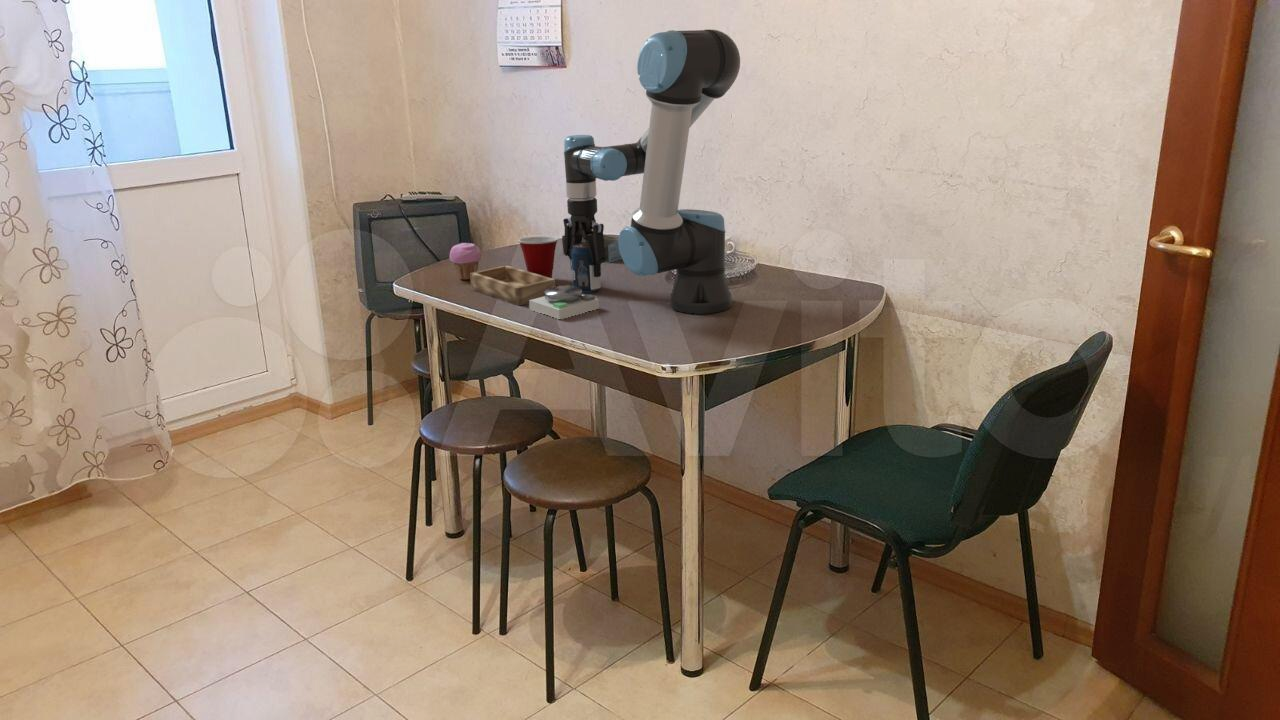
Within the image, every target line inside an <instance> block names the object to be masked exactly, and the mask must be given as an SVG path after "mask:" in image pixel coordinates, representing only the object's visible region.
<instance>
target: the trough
mask: <svg viewBox="0 0 1280 720" xmlns="http://www.w3.org/2000/svg"><path fill="white" fill-rule="evenodd" d="M469 280H470V289H471V290H472V291H475V292H477V293H480V294H483V295H486V296H489V297H491V298H494V297H495V299H497V298H498V300H500V299H501V300H500V301H503V300H504V302H506V301H507V303H510V304H512V305H516V306H519V307H520V306H523V305H527V304H529V300H532V299H536V298H540V297H544V296H545V290H546V289H548V288H551V287H556V279H555V278H553V277H552V278H549V277H546V276H542V275H539V274H535V273H532V272H528V271H527V270H525V269H521V268H518V267H514V266H511V265H507V264H504V265H501V266H495V267H490V268H488V269H487V268H486V269H482V270H479V271H478V270H477V272H473V273H470V279H469Z"/></svg>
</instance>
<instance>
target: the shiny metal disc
mask: <svg viewBox="0 0 1280 720" xmlns="http://www.w3.org/2000/svg"><path fill="white" fill-rule="evenodd" d="M582 295H583V293H582V289H581V288H579V287H576V286H573V285H558V286H556V285H555V287H551V288H548V289H546V290H545V299H546V300H549V301H554V302H567V301H573V300H577V299H579V298H581V297H582Z"/></svg>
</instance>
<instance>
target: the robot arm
mask: <svg viewBox="0 0 1280 720" xmlns="http://www.w3.org/2000/svg"><path fill="white" fill-rule="evenodd" d="M740 55H741V54H740V51H739V48H738V46H737V44H736V43H735V42H734V40H733V39H732V38H731V36H729V34H726V33H725V32H723V31H720V30H718V29H710V28H709V29H700V30H697V29H695V30H673V29H672V30H667V31H662V32H657V33H654V34H652V35H651V36H650V37H649V38H648V39H646V40H645V41H644V43H643V45H642V47H641V48H640V51H639V54H638V57H637V67H636V69H637V75H638V76H639V77H638V80H639V82H640V84H641V86H642V87H643V89H644V90H646V91H645V96H646V98H647V99H648V101H650V102H651V110H650V119H649V125H648V128H647V129H646V131H644V133H643V134H642V136H641V137H640V138H639V139H638V140H637V142H633V143H625V144H618V145H610V146H596V143H595V140H594V137H593V136H592V135H590V134H573V135H568V136H566V137H565V138H564V141H563V142H564V144H563V145H564V146H563V147H564V148H563V149H564V150H563V155H564V169H565V181H566V182H565V187H566V188H565V189H566V197H567V198H568V199H567V200H566V201H567V202H566V204H567V205H566V206H567V213H568V214H569V215H570V217H566V218H564V219H563V220H562V221H563V227H564V235H565V241H564V254H565V255H564V254H563V255H564V256H568V259H569V260H570V270H571V272H572V257H571V251H572V249H573V245H574V244H578V243H581V242H582V237H583V239H585V241H586V244H587V248H588V252H589V255H590V259H591V264H590V285H591V290H594V289H597V290H598V289H601V287H602V286H601V276H602V271H601V270H602V268H601V267H602V266H601V265H602V264H603V263H607V262H606V254H605V245H604V237H603V235H604V229H605V225H604V223H598V222H597V221H596V218H595V215H596V214H597V213H598V199H597V198H596V197H597V182H596V180H597V179H598V180H601V181H606V182H608V181H610V182H611V181H617V180H619V179H621V178H622V177H625V176H626V177H628V176H632V175H634V176H635V175H639V174H640V175H641V174H643V178H642V184H641V194H640V203H639V207H638V208H636V209H635V210H634V211H633V212H632V214H631V220H630V221H631V222H630V226H627V225H626V226H625V227H624V228H622V230H621V231H620V232H619V235H618V238H619V240H618V244H619V251H620V254H621V257H622V259H621V260H622V261H623V264H624V265H625V266H626V268H627V269H628V271H629V272H631V273H632V274H633V275H636V276H639V277H646V276H655V275H657V274H662V273H666V272H671V271H676V273H675V279H674V281H673V286H672V291H671V293H670V295H669V307H670V309H672V310H674V311H676V312H679V313H684V312H685V314H692V313H694V314H693V315H697V314H698V315H699V314H701V315H703V314H704V315H705V314H715V313H719V312H724V311H726V310H728V309H730V308H731V307H732V306H733V297H732V293H731V292H730V289H729V285H728V284H729V283H728V281H727V278H726V277H727V276H726V274H725V270H726V269H725V268H726V267H725V265H726V263H725V261H726V259H725V257H726V256H725V255H726V253H725V252H726V251H725V250H726V249H725V248H726V246H725V245H726V244H725V243H726V228H725V218H724V216H723V215H722V214H720V213H719V212H715V211H710V210H704V209H703V210H702V209H691V208H690V209H688V208H687V209H679V205H680V204H679V203H680V198H681V197H680V196H681V190H682V184H683V183H682V182H683V177H684V176H683V175H684V168H685V163H686V162H685V161H686V154H687V147H688V140H689V132H690V128H691V127H692V125H694V124H695V122H696V121H697V120H698V119H699V118H700V116H702V114H704V112H705V111H706V109H707V108H708V107H709V106H710V105H711V104H712V103H713V101H714V100H715V99H720V98H722V97H723V96H725V94H726V93H727V92H728V91H729V90H730V89H731V88H732V86H733V85H734V83H735V81H736V80H737V77H738V75H739V73H740V68H741V56H740ZM590 234H591V235H590ZM569 249H570V250H569ZM595 258H596V260H595ZM571 281H572V285H573V275H572V274H571Z"/></svg>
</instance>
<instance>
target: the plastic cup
mask: <svg viewBox="0 0 1280 720" xmlns="http://www.w3.org/2000/svg"><path fill="white" fill-rule="evenodd" d="M558 241H559V237H556V236H544V235H543V236H528V237H521V238H519V239H517V242H518V243H519V245H520V248H521V252H522V255H523V258H524V262H525V267H526V268H525V269H526V271H528V272H532V273H535V274H539V275H542V276H546V277H549V278H552V279H553V270H554V262H555V255H556V248H557V244H558Z"/></svg>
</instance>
